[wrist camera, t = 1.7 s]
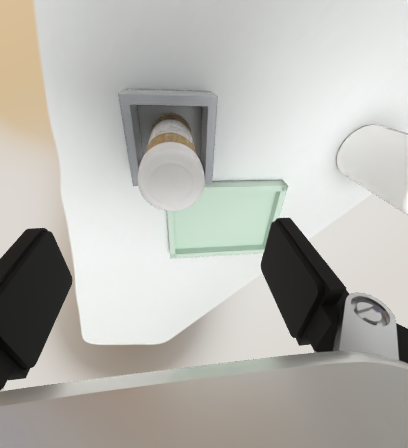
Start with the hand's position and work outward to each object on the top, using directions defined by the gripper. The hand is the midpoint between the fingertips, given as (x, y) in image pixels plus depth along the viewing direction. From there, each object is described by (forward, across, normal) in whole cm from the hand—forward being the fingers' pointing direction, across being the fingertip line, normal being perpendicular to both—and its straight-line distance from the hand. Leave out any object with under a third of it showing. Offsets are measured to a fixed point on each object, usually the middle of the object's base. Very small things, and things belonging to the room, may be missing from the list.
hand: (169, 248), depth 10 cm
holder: (+20, 0, 0) cm, 20 cm away
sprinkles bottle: (+20, 0, 0) cm, 20 cm away
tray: (+20, -7, +12) cm, 24 cm away
